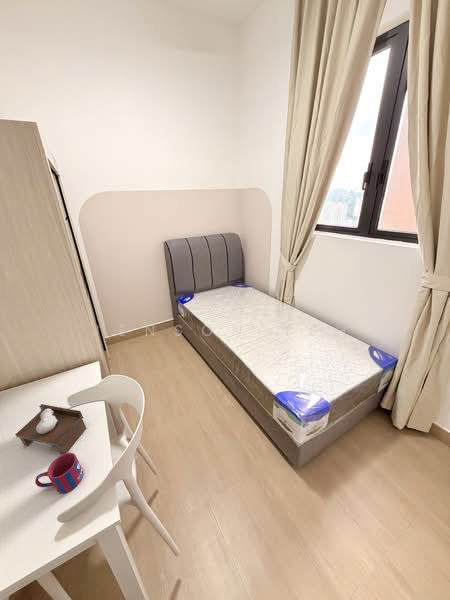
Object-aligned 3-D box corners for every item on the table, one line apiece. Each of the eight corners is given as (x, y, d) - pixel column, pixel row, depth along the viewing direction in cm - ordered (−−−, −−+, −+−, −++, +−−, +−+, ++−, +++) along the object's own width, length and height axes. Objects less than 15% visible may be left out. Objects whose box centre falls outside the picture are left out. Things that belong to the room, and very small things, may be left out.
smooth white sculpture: (55, 435, 74) (34, 438, 72) (59, 415, 81) (41, 417, 78) (55, 424, 73) (34, 427, 70) (60, 405, 79) (41, 407, 77)
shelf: (22, 447, 76) (12, 430, 73) (50, 420, 85) (41, 404, 82) (63, 456, 73) (54, 439, 69) (87, 427, 81) (80, 410, 78)
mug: (80, 488, 64) (72, 473, 61) (38, 502, 62) (27, 487, 59) (85, 464, 70) (78, 449, 67) (47, 476, 68) (38, 461, 65)
